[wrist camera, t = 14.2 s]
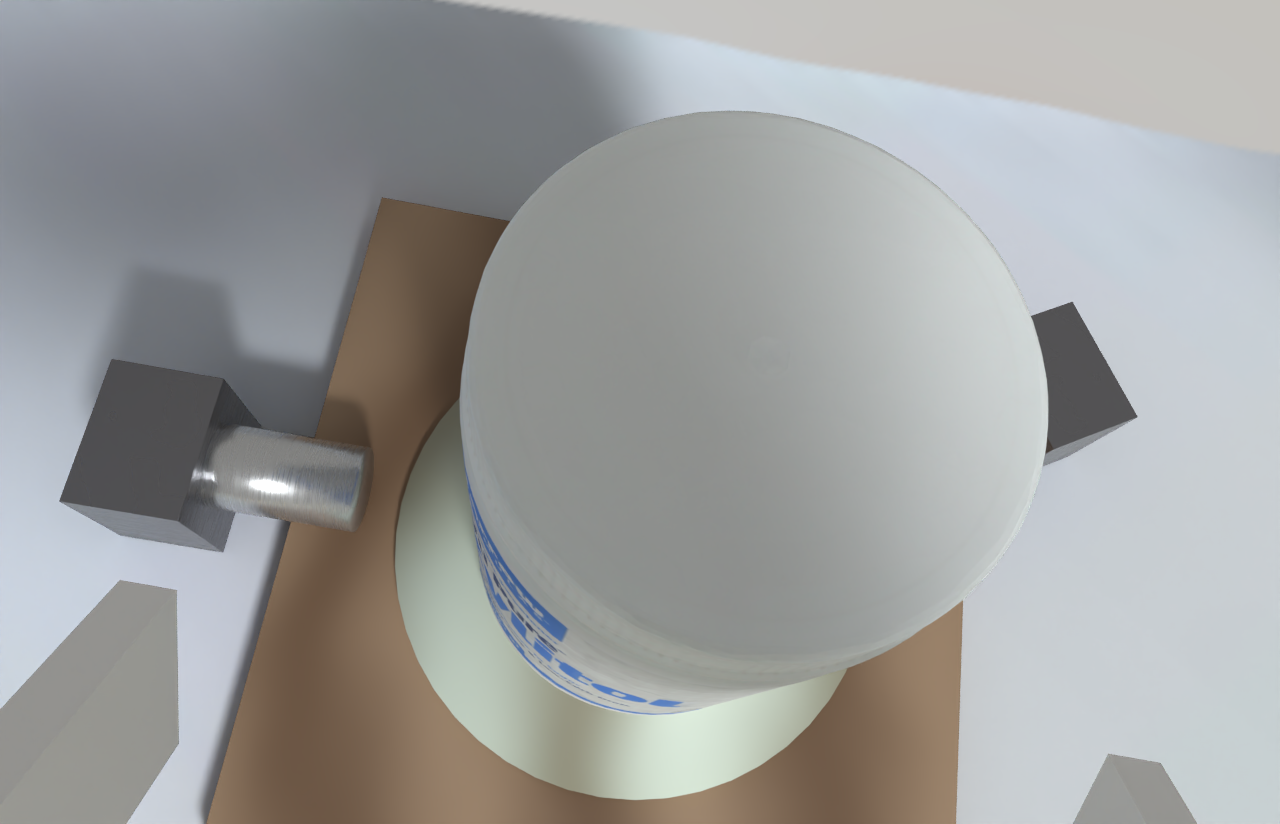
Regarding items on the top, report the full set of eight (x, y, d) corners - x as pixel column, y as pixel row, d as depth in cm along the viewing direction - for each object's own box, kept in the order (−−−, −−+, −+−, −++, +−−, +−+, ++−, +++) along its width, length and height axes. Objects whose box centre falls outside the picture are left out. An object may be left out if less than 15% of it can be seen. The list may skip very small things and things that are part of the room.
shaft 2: (887, 526, 31) (935, 494, 28) (834, 415, 32) (874, 370, 29) (1068, 456, 33) (1137, 417, 29) (1012, 352, 34) (1072, 301, 30)
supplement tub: (419, 623, 27) (312, 479, 14) (572, 347, 31) (611, 6, 17) (733, 781, 27) (953, 798, 13) (854, 483, 30) (1131, 246, 16)
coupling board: (957, 322, 34) (976, 303, 33) (933, 965, 27) (955, 976, 26) (387, 216, 33) (380, 192, 32) (209, 856, 26) (192, 862, 25)
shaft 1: (390, 448, 30) (370, 404, 27) (358, 574, 29) (333, 547, 25) (163, 409, 30) (111, 358, 26) (120, 535, 29) (59, 501, 25)
